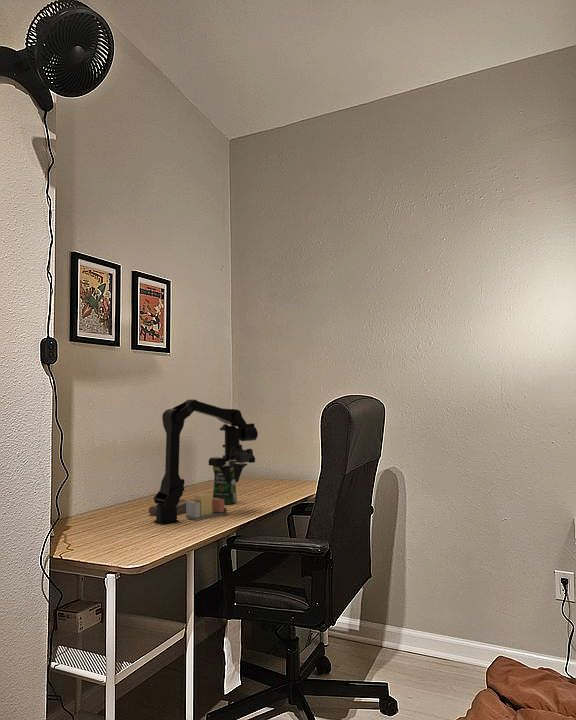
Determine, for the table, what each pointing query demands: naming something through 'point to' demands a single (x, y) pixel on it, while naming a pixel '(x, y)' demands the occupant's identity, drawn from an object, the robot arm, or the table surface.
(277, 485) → the table surface
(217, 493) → the coffee jar
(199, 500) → the block
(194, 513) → the vise
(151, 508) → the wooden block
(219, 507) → the block
